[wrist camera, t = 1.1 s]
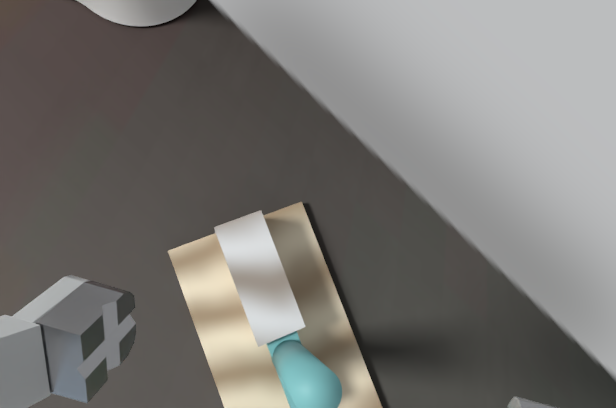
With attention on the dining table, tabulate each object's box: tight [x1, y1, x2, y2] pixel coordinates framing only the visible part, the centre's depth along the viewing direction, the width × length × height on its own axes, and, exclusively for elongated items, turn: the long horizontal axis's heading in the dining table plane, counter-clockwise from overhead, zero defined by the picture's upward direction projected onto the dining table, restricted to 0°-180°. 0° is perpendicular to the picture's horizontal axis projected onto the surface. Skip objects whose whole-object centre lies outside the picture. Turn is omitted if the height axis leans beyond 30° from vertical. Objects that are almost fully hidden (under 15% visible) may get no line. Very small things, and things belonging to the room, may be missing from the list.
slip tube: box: [266, 331, 342, 408], centre depth 37 cm, size 17×3×16 cm, turn 22°
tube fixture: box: [168, 202, 382, 408], centre depth 43 cm, size 28×14×8 cm, turn 22°
